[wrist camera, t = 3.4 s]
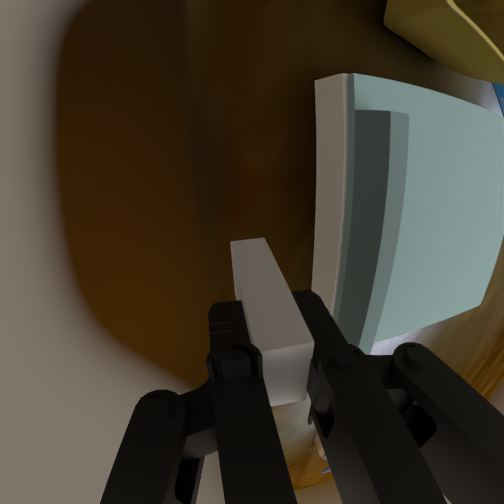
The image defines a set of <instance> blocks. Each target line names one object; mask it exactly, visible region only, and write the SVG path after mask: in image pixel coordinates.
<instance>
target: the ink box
mask: <svg viewBox="0 0 504 504" xmlns="http://www.w3.org/2000/svg"><path fill="white" fill-rule="evenodd" d="M493 85H494V88H495V90H496V93H497V96H498V99H499V102H500V105H501V108H502V112H503V115H504V85H502V84H498V83H494V82H493Z"/></svg>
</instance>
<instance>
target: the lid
mask: <svg viewBox="0 0 504 504" xmlns="http://www.w3.org/2000/svg"><path fill="white" fill-rule="evenodd" d="M347 84H348V177H347V197H346V213H345V226H344V237H343V248H342V258H341V267H340V275H339V283H338V291H337V298H336V305H335V312H334V318H333V319H334V321H335V322H336V324H337V326H338V327H339V329H340V331H341V333H342V334H343V336H344V338H345V339H346V341H347V343H348V344H352V345H354V346H356V347H358V348H360V349H361V350H362V351H363V352H364V353H365V354H367V355H370V352H371V349H372V346H373V343H375V342H379V341H382V340H386V339H389V338H392V337H395V336H399V335H402V334H405V333H408V332H411V331H414V330H417V329H420V328H423V327H425V326H428V325H431V324H434V323H437V322H439V321H442V320H445V319H447V318H450V317H452V316H455V315H457V314H460V313H462V312H465V311H467V310H469V309H472V308H474V307H476V306H479V305H480V304H481V302H482V299H483V297H484V294H485V291H486V289H487V286H488V283H489V281H490V278H491V275H492V272H493V269H494V266H495V263H496V260H497V257H498V253H499V250H500V246H501V243H502V239H503V235H504V117H503V116H501V115H498V114H496V113H494V112H492V111H489V110H487V109H484V108H482V107H479V106H477V105H474V104H472V103H469V102H466V101H464V100H461V99H458V98H455V97H452V96H449V95H446V94H443V93H440V92H436V91H433V90H430V89H426V88H422V87H419V86H415V85H411V84H407V83H403V82H398V81H394V80H389V79H384V78H379V77H374V76H368V75H362V74H356V73H352V74H348V75H347Z"/></svg>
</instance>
